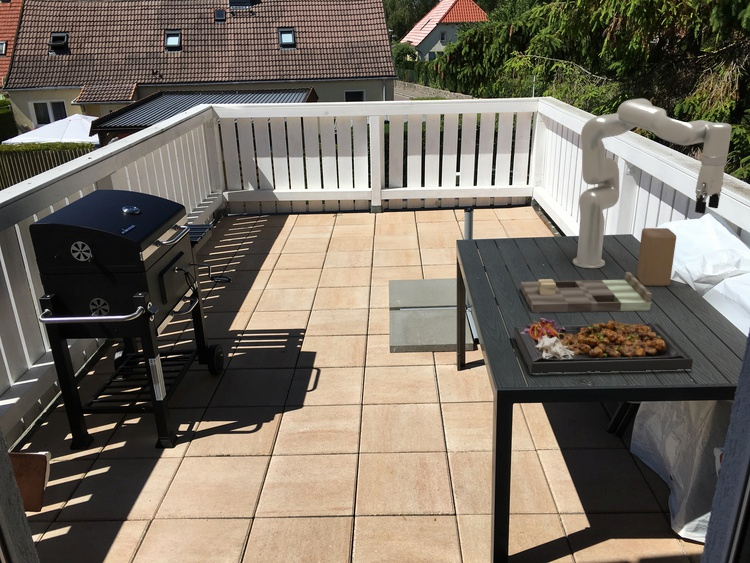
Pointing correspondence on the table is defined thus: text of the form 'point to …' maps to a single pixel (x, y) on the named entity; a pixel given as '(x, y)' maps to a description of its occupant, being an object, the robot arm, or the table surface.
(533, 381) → the table surface
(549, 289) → the birch block
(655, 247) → the block
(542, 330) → the food platter
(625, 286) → the board
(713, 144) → the robot arm
